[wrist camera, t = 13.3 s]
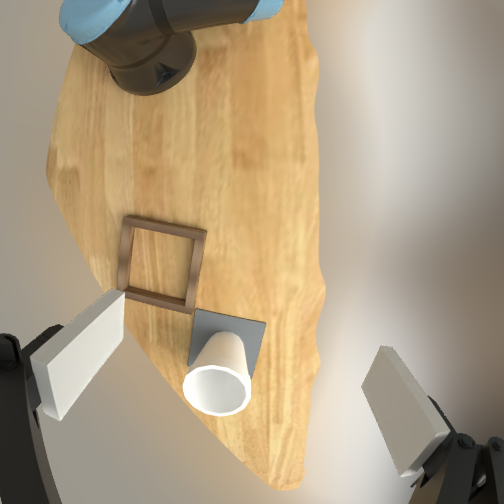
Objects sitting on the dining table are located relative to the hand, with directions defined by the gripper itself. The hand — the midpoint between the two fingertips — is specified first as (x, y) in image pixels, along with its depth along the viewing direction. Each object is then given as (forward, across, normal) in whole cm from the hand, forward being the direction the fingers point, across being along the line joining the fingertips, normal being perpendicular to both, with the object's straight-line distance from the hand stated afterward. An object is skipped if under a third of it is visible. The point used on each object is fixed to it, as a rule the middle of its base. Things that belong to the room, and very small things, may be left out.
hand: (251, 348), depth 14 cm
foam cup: (+32, -1, -20) cm, 38 cm away
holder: (+33, -14, -8) cm, 37 cm away
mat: (+33, -1, -21) cm, 39 cm away
